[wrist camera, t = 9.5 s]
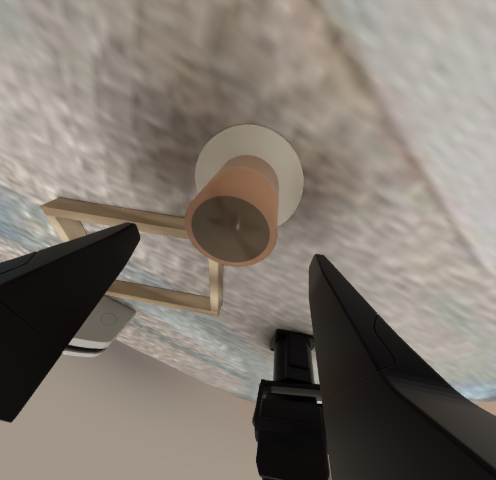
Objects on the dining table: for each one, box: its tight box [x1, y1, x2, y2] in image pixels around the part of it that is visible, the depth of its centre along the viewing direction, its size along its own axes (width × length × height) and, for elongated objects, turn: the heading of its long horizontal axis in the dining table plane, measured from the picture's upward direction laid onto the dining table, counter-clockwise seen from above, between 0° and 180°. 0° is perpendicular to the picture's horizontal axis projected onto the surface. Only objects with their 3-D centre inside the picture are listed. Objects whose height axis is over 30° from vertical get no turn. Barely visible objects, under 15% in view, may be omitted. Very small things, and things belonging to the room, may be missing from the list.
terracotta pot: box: [185, 155, 279, 267], centre depth 13 cm, size 5×5×6 cm
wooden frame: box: [40, 198, 223, 316], centre depth 23 cm, size 14×18×2 cm
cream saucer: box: [195, 124, 304, 226], centre depth 16 cm, size 9×9×1 cm
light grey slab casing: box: [62, 296, 136, 357], centre depth 28 cm, size 17×5×10 cm, turn 47°
